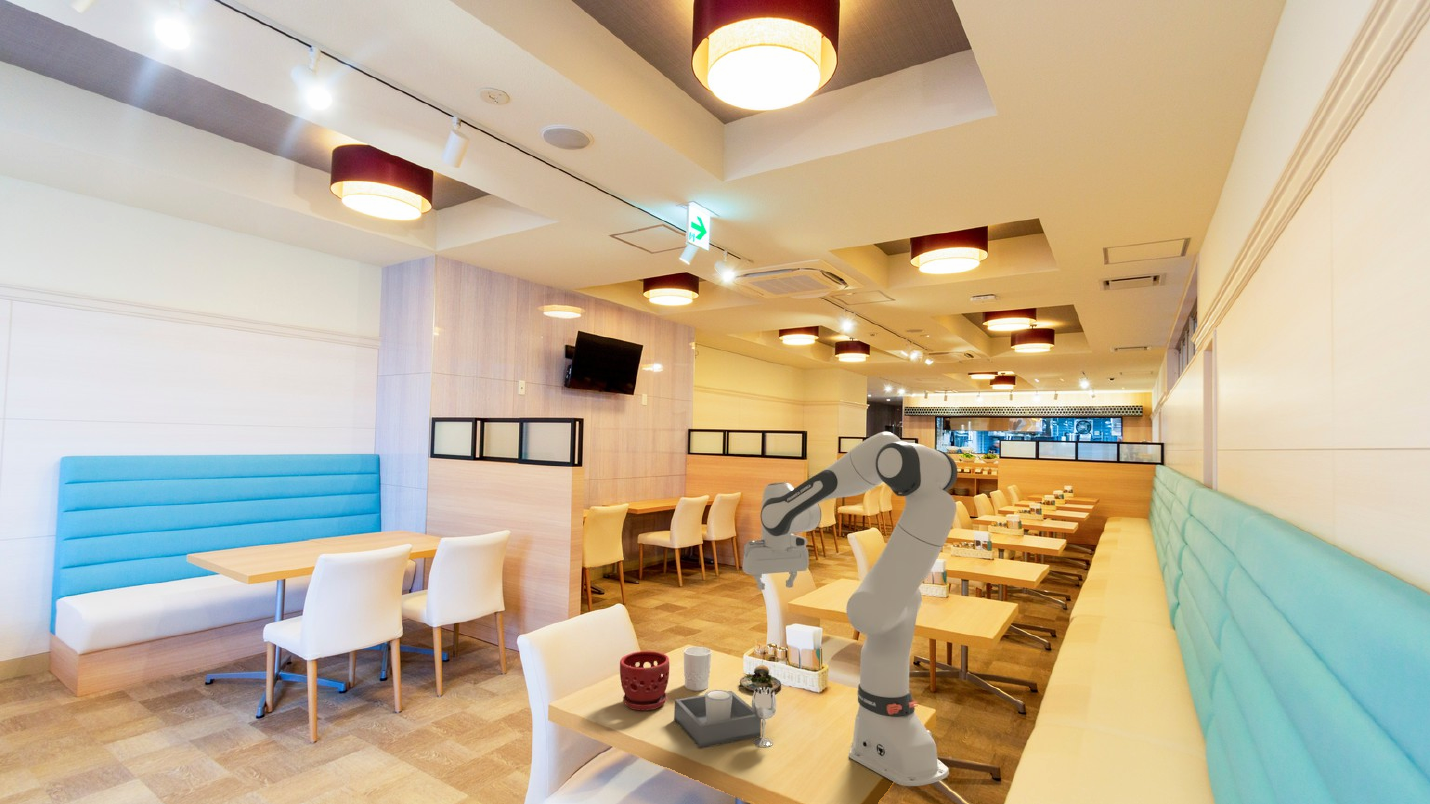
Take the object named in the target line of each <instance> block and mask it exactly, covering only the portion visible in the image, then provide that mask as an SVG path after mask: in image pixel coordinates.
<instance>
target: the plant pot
mask: <svg viewBox="0 0 1430 804" xmlns="http://www.w3.org/2000/svg"><path fill="white" fill-rule="evenodd" d="M655 662H656V663H657V665H655ZM637 663H639V665H638V666H636V664H637ZM646 663H648V664H650V666H649V667H644V666H645V664H646ZM669 675H670V658H669V656H668V655H666V653H665V654H664V653H662V652H659V651H651V650H643V651H642V650H641V651H635V652H631V653H628V654H626V655H624V656H622V658H621V659H620V661H619V677H620V684H621V687H622V690H623V694H624V695H623V697H622V698H623V699H622V701H623V702H624V704H625V706H627V707H628V708H630V709H632V710H637V711H652V710H655V709H658V708H660V707H662V706H663V705H664V704H665V703H666V701H667V699H668V695H667V693H666V691H667V688H668V683H669V677H670V676H669Z"/></svg>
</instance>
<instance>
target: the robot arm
mask: <svg viewBox="0 0 1430 804" xmlns="http://www.w3.org/2000/svg"><path fill="white" fill-rule="evenodd" d="M958 471H959V470H958V466H957V464H956V462H955V460H954V459H953V458H952V457H951V455H949V454H948V453H946V452H945V451H942V450H939V449H934V448H931V447H929V446H926V445H923V444H920V443H912V442H907V441H903V440H901V439H900V437H899V436H897V435H896V434H894V433H892V432H890V431H882V432H878V433H876V434H874V435H872V436H870V437H868V438H866V439H865V440H863V441H861V442H860V443H858V444H857V445H856V446H854V447H853V448H852V449H850V450H848V452H846V453H845V454H844V455H842V456H841V457H840V458H838V459H837V460H835V461H834V462H833V463H832V464H830V465H828V466H827V467H826V468H824V469H823V470H821V471H820V472H818V473H817V474H815V475H813V476H811V477H810V478H809V479H807V480H805V481H804V482H802V483H800V484H799V485H797V486H796V487H795V488H794V486H793V485H792V484H791V482H790V483H789V482H774V483H769V484H767V485H766V486H765V488H764V491H763V494H762V501H761V503H762V504H761V509H760V510H761V511H760V521H761V533H760V535H761V536H760V537H761V538H760V539H757V540H749V541H748V542H746V543H745V544H744V546H743V558H742V568H741V569H742V571H743V572H744V574H747V575H750V576H753V578H754V580H755V582H756V584H757V585H756V589H757V590H759V591H763V590H764V591H765V586H766V585H765V583H764V582H762V578H763V575H766V574H767V575H768V574H781V573H788V574H789V577H788V579H787V580H786V579H785V587H786V588H793V587H794V581H795V579H796V578H797V577H798V572H804V571H807V570H808V569H809V566H810V565H809V564H810V561H809V560H810V558H809V557H810V556H809V549H808V547H806V546H807V545H808V539H807V538H806V537H803V536H800V535H798V534H799V533H803V532H810V531H814V530H816V528H818V527H819V525H820V523H821V520H822V510H821V506H820V505H819V504H820V503H822V502H824V501H828V500H834V499H838V498H845V497H854V496H855V497H857V496H859V495H862V494H865V493H867V492H870V491H872V490H873V489H874V488H876V487H878V486H879V485H881V484H883V483H884V484H885V485H886V486H888V487H889V488H890V490H891V491H892V493H894V494H895V495H896V496H897V497H904V500H905V504H904V509H903V511H902V513H901V515H900V516H899V518H898V521H897V522H896V525H895V526H894V529H893V530H892V533H891V534H890V536H889V539H888V541H887V542H886V545H885V547H884V549H883V550H882V552H881V554H880V555H879V557H878V558H877V560H876V561H875V563H874V564H873V565H872V567H871V568H870V569H869V571H868V572H867V574H866V575H865V577H864V578H863V580H862V582H861V583H860V584H859V586H858V587H857V589H856V590H855V591H854V593H852V595H851V596H850V597H849V598H848V601H847V603H846V608H845V609H846V612H845V613H846V617H847V619H848V622H849V624H850V625H851V626H852V627H853V629H854V630H856V631H857V632H859V633H860V634H863V635H866V638H865V641H864V642H863V645H862V647H861V650H860V658H859V659H860V663H859V665H860V669H859V670H860V671H859V672H860V673H859V684H858V686H857V702H858V710H857V713H856V717H855V721H854V730H853V738H852V743H851V748H850V749H849V752H848V753H849V754H848V757H849V758H850V759H852V760H854V761H855V762H857V763H859V764H861V765H862V766H864V767H866V768H868V769H869V770H872V771H874V772H875V773H876V774H879V775H881V776H883V777H884V778H886V779H888V780H889V781H892V782H893V783H895V784H898V785H900V786H902V787H903V786H904V787H919V786H925V785H929V784H930V785H931V784H933V783H936V782H939V781H942V780H943V779H946V778H947V777H948V776H949V774H950V770H949V767H948V766H947V765H946V764H944V763H943V762H942V761H941V760H940V759H938V750H937V744H936V742H935V739H934V738H933V735H932V732H931V731H930V730H928V729H927V728H926V726H925V724H923V723H922V721H921V719H920V718H919V716H918V715H917V713H916V712H915V710H916V707H918V705H917V703H918V702H919V701H918V700H915V701H914V700H913V696H912V692H911V690H910V660H911V659H910V658H911V649H912V646H913V640H914V636H915V630H916V623H917V619H918V613H919V611H920V608H921V605H922V601H923V600H922V599H923V598H922V592H921V590H920V586H921V585H922V584H923V582H924V581H925V580H926V578H928V576H929V575H930V573H931V571H932V569H933V567H934V565H935V563H936V561H937V559H938V557H939V555H940V553H941V552H942V549H943V547H944V545H945V543H946V541H947V540H948V537H949V534H950V532H951V529H952V527H953V523H954V520H955V516H956V513H957V503H956V501H955V499H954V497H953V496H952V495H951V494H950V493H948V491H949V490H950V489H951V488H952V487H953V486H955V483H956V481H957V479H958ZM797 533H798V534H797Z"/></svg>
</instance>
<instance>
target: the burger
mask: <svg viewBox="0 0 1430 804" xmlns="http://www.w3.org/2000/svg"><path fill="white" fill-rule="evenodd" d="M763 660H764V659H762V660H761V661H762V662H761V665H757V666H756V667H755V668H753V669H754V670H753V674H750V672H748V674H746V675H745V676H742V677H741V679H740V680H739V688H741V687H744V688H746V689H747V690H749V691H754V690H755V689H756V688H758V687H768V688H771V689H773V690H774V691H775V690H777V689H778V690H777V692H781V690H782V683H781V681H780V680H779V679H778V678H777V677H774V676H772V675H771V674H770V669H769V668H768V666H766V665H763V662H764V661H763Z"/></svg>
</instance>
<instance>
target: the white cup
mask: <svg viewBox="0 0 1430 804" xmlns="http://www.w3.org/2000/svg"><path fill="white" fill-rule="evenodd" d="M711 659H712V649H710V648H708V647H705V646H691V647H686V648H685V649H684V650H683V672H684V673H683V674H684V687H685V689H687V690H689V691H695V692H700V691H705V690H706V689H708V688H709V679H710V673H711Z"/></svg>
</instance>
